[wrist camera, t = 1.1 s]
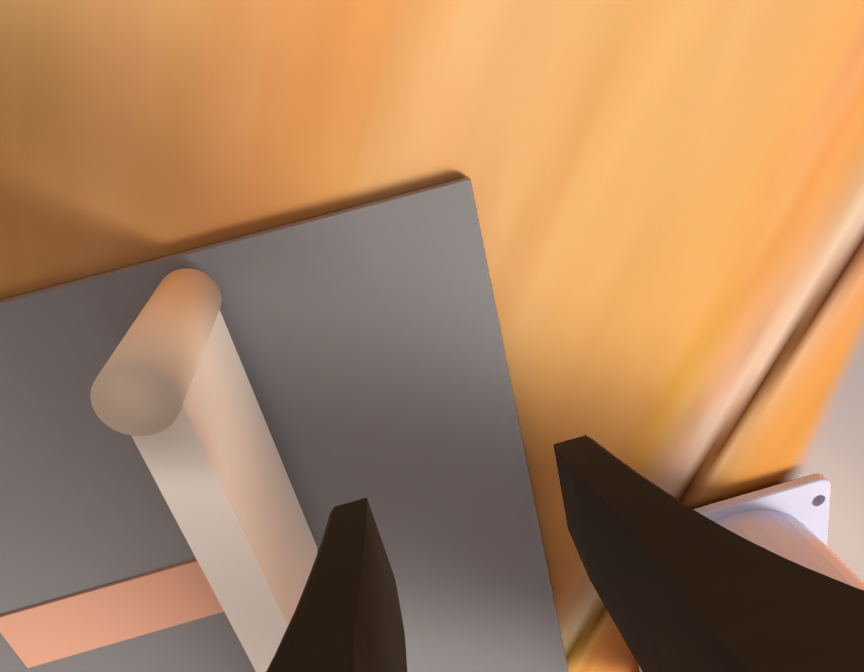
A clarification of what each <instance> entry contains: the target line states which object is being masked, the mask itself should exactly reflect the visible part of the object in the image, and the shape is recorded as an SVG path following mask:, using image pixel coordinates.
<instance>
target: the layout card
mask: <svg viewBox="0 0 864 672" xmlns="http://www.w3.org/2000/svg"><path fill="white" fill-rule="evenodd" d="M185 268H188V269H195V270H199V271H201V272H204V273H205V274H207V275H208V276H210V277H211V278H212V279H213V280H214V281H215V282H216V284H217V285H218V287H219V289H220V292H221V297H222V301H221V307H220V312H221V314H222V316H223V319H224V321H225V324H226V326H227V329H228V331H229V333H230V336H231V338H232V341H233V343H234V346H235V348H236V351H237V353H238V355H239V358H240V360H241V363H242V365H243V368H244V370H245V373H246V375H247V377H248V380H249V382H250V385H251V387H252V390H253V392H254V394H255V397H256V399H257V402H258V404H259V407H260V409H261V412H262V414H263V416H264V419H265V421H266V424H267V426H268V429H269V431H270V433H271V436H272V438H273V441H274V443H275V446H276V448H277V451H278V453H279V455H280V458H281V460H282V463H283V465H284V468H285V470H286V472H287V475H288V477H289V480H290V482H291V485H292V487H293V490H294V492H295V494H296V497H297V499H298V502H299V504H300V507H301V509H302V511H303V514H304V516H305V519H306V521H307V524H308V526H309V529H310V531H311V533H312V536H313V538H314V541H315V543H316V546H317V553H318V550H319V547H320V544H321V541H322V538H323V535H324V532H325V529H326V525H327V522H328V518H329V515H330V513H331V511H332V509H333V508H334V507H335V506H339V505H342V504H346V503H349V502H353V501H357V500H360V499H364V498H367V499H368V502H369V505H370V508H371V511H372V514H373V516H374V519H375V522H376V525H377V528H378V531H379V534H380V537H381V539H382V542H383V545H384V548H385V551H386V554H387V557H388V560H389V563H390V565H391V568H392V571H393V574H394V577H395V581H396V586H397V592H398V597H399V603H400V608H401V614H402V620H403V626H404V632H405V644H406V659H407V672H568V668H567V662H566V657H565V652H564V647H563V642H562V637H561V632H560V627H559V622H558V617H557V612H556V607H555V602H554V597H553V592H552V587H551V582H550V577H549V572H548V567H547V562H546V557H545V552H544V547H543V542H542V537H541V532H540V527H539V522H538V517H537V512H536V507H535V501H534V496H533V491H532V486H531V481H530V476H529V471H528V466H527V461H526V456H525V451H524V446H523V441H522V436H521V431H520V426H519V421H518V416H517V411H516V406H515V401H514V396H513V391H512V386H511V381H510V376H509V371H508V366H507V361H506V356H505V351H504V346H503V340H502V335H501V330H500V325H499V320H498V315H497V310H496V305H495V300H494V295H493V290H492V285H491V280H490V275H489V270H488V265H487V260H486V255H485V250H484V245H483V240H482V235H481V230H480V225H479V220H478V215H477V210H476V205H475V200H474V195H473V190H472V185H471V179H470V178H469V177H464V178H460V179H456V180H452V181H449V182H445V183H441V184H437V185H433V186H430V187H426V188H422V189H418V190H415V191H411V192H407V193H403V194H399V195H396V196H392V197H388V198H384V199H381V200H377V201H373V202H369V203H365V204H362V205H358V206H354V207H350V208H347V209H343V210H339V211H335V212H331V213H328V214H324V215H320V216H316V217H313V218H309V219H305V220H301V221H297V222H294V223H290V224H286V225H282V226H279V227H275V228H271V229H267V230H263V231H260V232H256V233H252V234H248V235H244V236H241V237H237V238H233V239H229V240H226V241H222V242H218V243H214V244H210V245H207V246H203V247H199V248H195V249H192V250H188V251H184V252H180V253H176V254H173V255H169V256H165V257H161V258H158V259H154V260H150V261H146V262H142V263H139V264H135V265H131V266H127V267H124V268H120V269H116V270H112V271H108V272H105V273H101V274H97V275H93V276H90V277H86V278H82V279H78V280H74V281H71V282H67V283H63V284H59V285H55V286H52V287H48V288H44V289H40V290H37V291H33V292H29V293H25V294H21V295H18V296H14V297H10V298H6V299H3V300H0V672H256V671H255V669H254V667H253V665H252V663H251V661H250V659H249V658H248V656H247V654H246V652H245V650H244V648H243V646H242V644H241V642H240V641H239V639H238V637H237V635H236V633H235V631H234V629H233V627H232V625H231V624H230V622H229V620H228V618H227V616H226V614H225V612H224V610H223V608H222V606H221V605H220V603H219V601H218V599H217V597H216V595H215V593H214V591H213V589H212V588H211V586H210V584H209V582H208V580H207V578H206V576H205V574H204V572H203V571H202V569H201V567H200V565H199V563H198V561H197V559H196V557H195V555H194V554H193V552H192V550H191V548H190V546H189V544H188V542H187V540H186V538H185V536H184V535H183V533H182V531H181V529H180V527H179V525H178V523H177V521H176V519H175V518H174V516H173V514H172V512H171V510H170V508H169V506H168V504H167V502H166V501H165V499H164V497H163V495H162V493H161V491H160V489H159V487H158V485H157V484H156V482H155V480H154V478H153V476H152V474H151V472H150V470H149V468H148V466H147V465H146V463H145V461H144V459H143V457H142V455H141V453H140V451H139V449H138V448H137V446H136V444H135V442H134V440H133V438H132V436H131V435H126V434H123V433H120V432H117V431H115V430H113V429H112V428H110V427H108V426H107V425H106V424H104V423H103V422H102V421H101V420H100V419H99V417H98V416H97V415H96V413H95V412H94V409H93V407H92V404H91V398H90V393H91V388H92V385H93V383H94V381H95V379H96V378H97V376H98V375H99V373H100V372H101V370H102V369H103V367H104V366H105V364H106V363H107V361H108V360H109V358H110V357H111V355H112V354H113V352H114V351H115V349H116V348H117V346H118V345H119V344H120V342H121V341H122V339H123V338H124V336H125V335H126V333H127V332H128V330H129V329H130V327H131V326H132V324H133V323H134V321H135V320H136V318H137V317H138V315H139V314H140V312H141V311H142V309H143V308H144V306H145V305H146V303H147V302H148V300H149V299H150V298H151V296H152V295H153V293H154V292H155V290H156V289H157V287H158V286H159V284H160V283H161V281H162V280H163V279H164V277H165V276H167V275H168V274H169V273H171V272H173V271H175V270H178V269H185Z"/></svg>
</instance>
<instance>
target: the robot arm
mask: <svg viewBox="0 0 864 672" xmlns="http://www.w3.org/2000/svg"><path fill="white" fill-rule="evenodd" d="M554 449H555V455H556V461H557V467H558V472H559V478H560V484H561V490H562V496H563V501H564V507H565V513H566V519H567V525H568V529H569V532H570V534H571V536H572V539H573V541H574V543H575V546H576V548H577V551H578V553H579V555H580V558H581V560H582V562H583V565H584V567H585V569H586V571H587V574H588V576H589V578H590V580H591V582H592V584H593V585H594V587H595V589H596V591H597V593H598V594H599V596H600V598H601V600H602V601H603V603H604V605H605V607H606V608H607V610H608V612H609V614H610V616H611V617H612V619H613V621H614V623H615V624H616V626H617V628H618V630H619V631H620V633H621V635H622V637H623V638H624V640H625V642H626V644H627V645H628V647H629V649H630V651H631V652H632V654H633V656H634V658H635V659H636V661H637V663H638V665H639V672H864V583H863V582H862V581H861V580H860V579H859V578H858V577H857V576H856V575H855V574H854V573H853V572H852V571H851V570H850V569H849V568H848V567H847V566H846V565H845V564H844V563H843V562H842V561H841V560H840V559H839V558H838V557H837V556H836V555H835V554H834V553H833V552H832V551H831V550H830V549H829V548H828V547H827V537H828V522H829V507H830V506H829V505H830V490H831V484H830V482H829V481H828V480H827V479H826V478H825V477H824V476H823V475H821V474H813V475H809V476H805V477H802V478H798V479H795V480H792V481H788V482H785V483H781V484H778V485H774V486H771V487H768V488H764V489H761V490H757V491H754V492H750V493H747V494H744V495H740V496H737V497H733V498H730V499H726V500H723V501H720V502H716V503H713V504H709V505H706V506H702V507H699V508H695V509H692V508H690V507H689V506H687V505H686V504H684V503H682V502H681V501H679V500H678V499H676V498H675V497H673V496H672V495H670V494H669V493H667V492H665V491H664V490H662V489H661V488H659V487H658V486H656V485H655V484H653V483H652V482H650V481H649V480H647V479H646V478H644V477H643V476H642V475H640V474H639V473H637V472H636V471H635V470H633V469H632V468H630V467H629V466H628V465H626V464H625V463H623V462H622V461H621V460H619V459H618V458H617V457H615V456H614V455H613V454H611V453H610V452H609V451H607V450H606V449H605V448H603V447H602V446H601V445H599V444H598V443H597V442H595V441H594V440H593V439H591V438H589V437H588V436H586V435H585V436H582V437H578V438H575V439H571V440H568V441H564V442H561V443H557V444H554ZM266 672H407V659H406V644H405V632H404V626H403V620H402V614H401V608H400V603H399V597H398V592H397V586H396V581H395V577H394V574H393V571H392V568H391V565H390V563H389V560H388V557H387V554H386V551H385V548H384V545H383V542H382V539H381V537H380V534H379V531H378V528H377V525H376V522H375V519H374V516H373V514H372V511H371V508H370V505H369V502H368V499H367V498H364V499H360V500H357V501H353V502H349V503H346V504H342V505H339V506H335V507H334V508H333V509H332V511H331V513H330V515H329V518H328V522H327V525H326V529H325V532H324V535H323V538H322V541H321V544H320V547H319V550H318V553H317V556H316V559H315V561H314V564H313V567H312V570H311V572H310V575H309V577H308V580H307V582H306V585H305V587H304V590H303V592H302V595H301V598H300V600H299V603H298V605H297V607H296V610H295V612H294V614H293V616H292V619H291V621H290V623H289V625H288V627H287V629H286V632H285V634H284V636H283V638H282V640H281V642H280V645H279V647H278V649H277V651H276V653H275V655H274V657H273V659H272V661H271V663H270V665H269V667H268V669H267V671H266Z"/></svg>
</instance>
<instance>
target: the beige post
mask: <svg viewBox="0 0 864 672" xmlns="http://www.w3.org/2000/svg"><path fill="white" fill-rule="evenodd" d="M221 301H222V297H221V292H220V289H219V287H218V285H217V284H216V282H215V281H214V280H213V279H212V278H211V277H210V276H208V275H207V274H205V273H204V272H201V271H199V270H195V269H188V268H185V269H178V270H175V271H173V272H171V273H169V274H168V275H167V276H165V277H164V279H163V280H162V281H161V283H160V284H159V286H158V287H157V289H156V290H155V292H154V293H153V295H152V296H151V298H150V299H149V300H148V302H147V303H146V305H145V306H144V308H143V309H142V311H141V312H140V314H139V315H138V317H137V318H136V320H135V321H134V323H133V324H132V326H131V327H130V329H129V330H128V332H127V333H126V335H125V336H124V338H123V339H122V341H121V342H120V344H119V345H118V346H117V348H116V349H115V351H114V352H113V354H112V355H111V357H110V358H109V360H108V361H107V363H106V364H105V366H104V367H103V369H102V370H101V372H100V373H99V375H98V376H97V378H96V379H95V381H94V383H93V385H92V388H91V393H90V398H91V404H92V407H93V409H94V412H95V413H96V415H97V416H98V417H99V419H100V420H101V421H102V422H103V423H104V424H106V425H107V426H108V427H110V428H112V429H113V430H115V431H117V432H120V433H123V434H126V435H131V436H132V438H133V440H134V442H135V444H136V446H137V448H138V449H139V451H140V453H141V455H142V457H143V459H144V461H145V463H146V465H147V466H148V468H149V470H150V472H151V474H152V476H153V478H154V480H155V482H156V484H157V485H158V487H159V489H160V491H161V493H162V495H163V497H164V499H165V501H166V502H167V504H168V506H169V508H170V510H171V512H172V514H173V516H174V518H175V519H176V521H177V523H178V525H179V527H180V529H181V531H182V533H183V535H184V536H185V538H186V540H187V542H188V544H189V546H190V548H191V550H192V552H193V554H194V555H195V557H196V559H197V561H198V563H199V565H200V567H201V569H202V571H203V572H204V574H205V576H206V578H207V580H208V582H209V584H210V586H211V588H212V589H213V591H214V593H215V595H216V597H217V599H218V601H219V603H220V605H221V606H222V608H223V610H224V612H225V614H226V616H227V618H228V620H229V622H230V624H231V625H232V627H233V629H234V631H235V633H236V635H237V637H238V639H239V641H240V642H241V644H242V646H243V648H244V650H245V652H246V654H247V656H248V658H249V659H250V661H251V663H252V665H253V667H254V669H255V671H256V672H266V671H267V669H268V667H269V665H270V663H271V661H272V659H273V657H274V655H275V653H276V651H277V649H278V647H279V645H280V642H281V640H282V638H283V636H284V634H285V632H286V629H287V627H288V625H289V623H290V621H291V619H292V616H293V614H294V612H295V610H296V607H297V605H298V603H299V600H300V598H301V595H302V592H303V590H304V587H305V585H306V582H307V580H308V577H309V575H310V572H311V570H312V567H313V564H314V561H315V559H316V556H317V546H316V543H315V541H314V538H313V536H312V533H311V531H310V529H309V526H308V524H307V521H306V519H305V516H304V514H303V511H302V509H301V507H300V504H299V502H298V499H297V497H296V494H295V492H294V490H293V487H292V485H291V482H290V480H289V477H288V475H287V472H286V470H285V468H284V465H283V463H282V460H281V458H280V455H279V453H278V451H277V448H276V446H275V443H274V441H273V438H272V436H271V433H270V431H269V429H268V426H267V424H266V421H265V419H264V416H263V414H262V412H261V409H260V407H259V404H258V402H257V399H256V397H255V394H254V392H253V390H252V387H251V385H250V382H249V380H248V377H247V375H246V373H245V370H244V368H243V365H242V363H241V360H240V358H239V355H238V353H237V351H236V348H235V346H234V343H233V341H232V338H231V336H230V333H229V331H228V329H227V326H226V324H225V321H224V319H223V316H222V314H221V312H220V307H221Z"/></svg>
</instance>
